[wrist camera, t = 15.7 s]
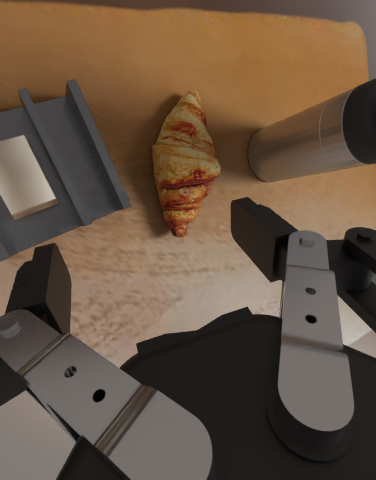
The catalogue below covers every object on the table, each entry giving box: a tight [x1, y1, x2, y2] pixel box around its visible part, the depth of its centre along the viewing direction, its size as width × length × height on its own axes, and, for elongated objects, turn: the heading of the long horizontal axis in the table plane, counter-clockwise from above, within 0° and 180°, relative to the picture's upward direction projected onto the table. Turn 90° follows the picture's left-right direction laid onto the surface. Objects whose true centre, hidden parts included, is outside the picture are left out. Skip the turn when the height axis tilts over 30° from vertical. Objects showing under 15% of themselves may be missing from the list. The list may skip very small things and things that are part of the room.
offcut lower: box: [12, 135, 59, 220], centre depth 32 cm, size 5×8×2 cm, turn 24°
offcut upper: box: [0, 135, 56, 215], centre depth 30 cm, size 5×7×2 cm, turn 24°
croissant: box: [152, 91, 221, 237], centre depth 40 cm, size 21×10×8 cm, turn 175°
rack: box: [0, 79, 131, 261], centre depth 32 cm, size 15×15×6 cm
